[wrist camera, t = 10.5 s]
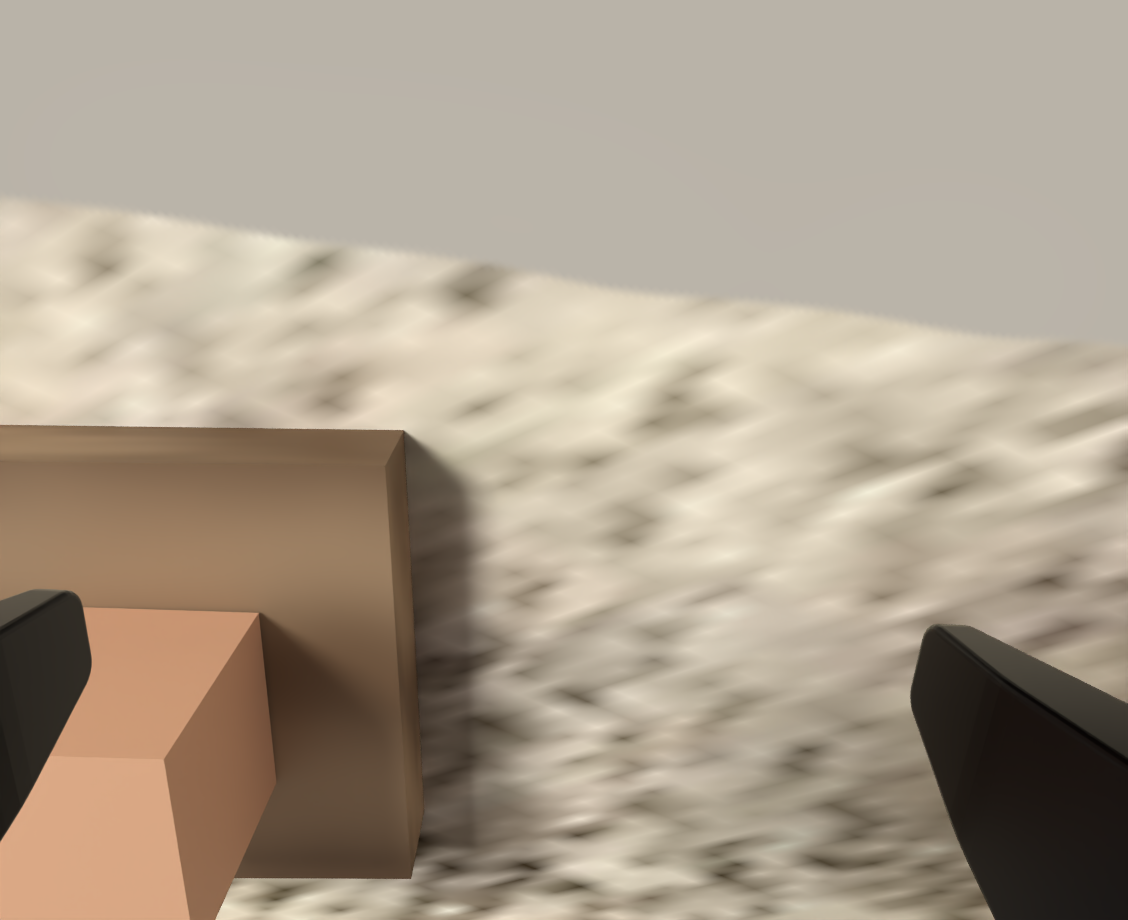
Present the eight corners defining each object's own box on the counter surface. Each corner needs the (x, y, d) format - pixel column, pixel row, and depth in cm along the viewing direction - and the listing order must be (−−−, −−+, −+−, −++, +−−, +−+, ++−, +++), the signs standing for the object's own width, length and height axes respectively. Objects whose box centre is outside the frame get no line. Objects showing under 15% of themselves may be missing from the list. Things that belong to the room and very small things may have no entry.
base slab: (426, 797, 26) (410, 879, 23) (29, 795, 25) (-37, 876, 23) (407, 423, 21) (385, 465, 18) (-71, 417, 21) (-167, 459, 18)
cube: (276, 782, 21) (196, 960, 17) (79, 776, 21) (-56, 954, 17) (258, 612, 20) (163, 759, 15) (44, 605, 20) (-119, 751, 15)
